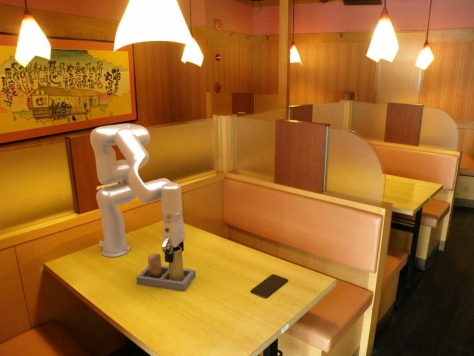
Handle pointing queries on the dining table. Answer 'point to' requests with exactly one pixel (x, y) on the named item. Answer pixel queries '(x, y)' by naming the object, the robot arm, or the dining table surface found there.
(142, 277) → the slot rack
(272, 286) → the smartphone
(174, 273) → the vase
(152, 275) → the walnut peg
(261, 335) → the dining table surface
